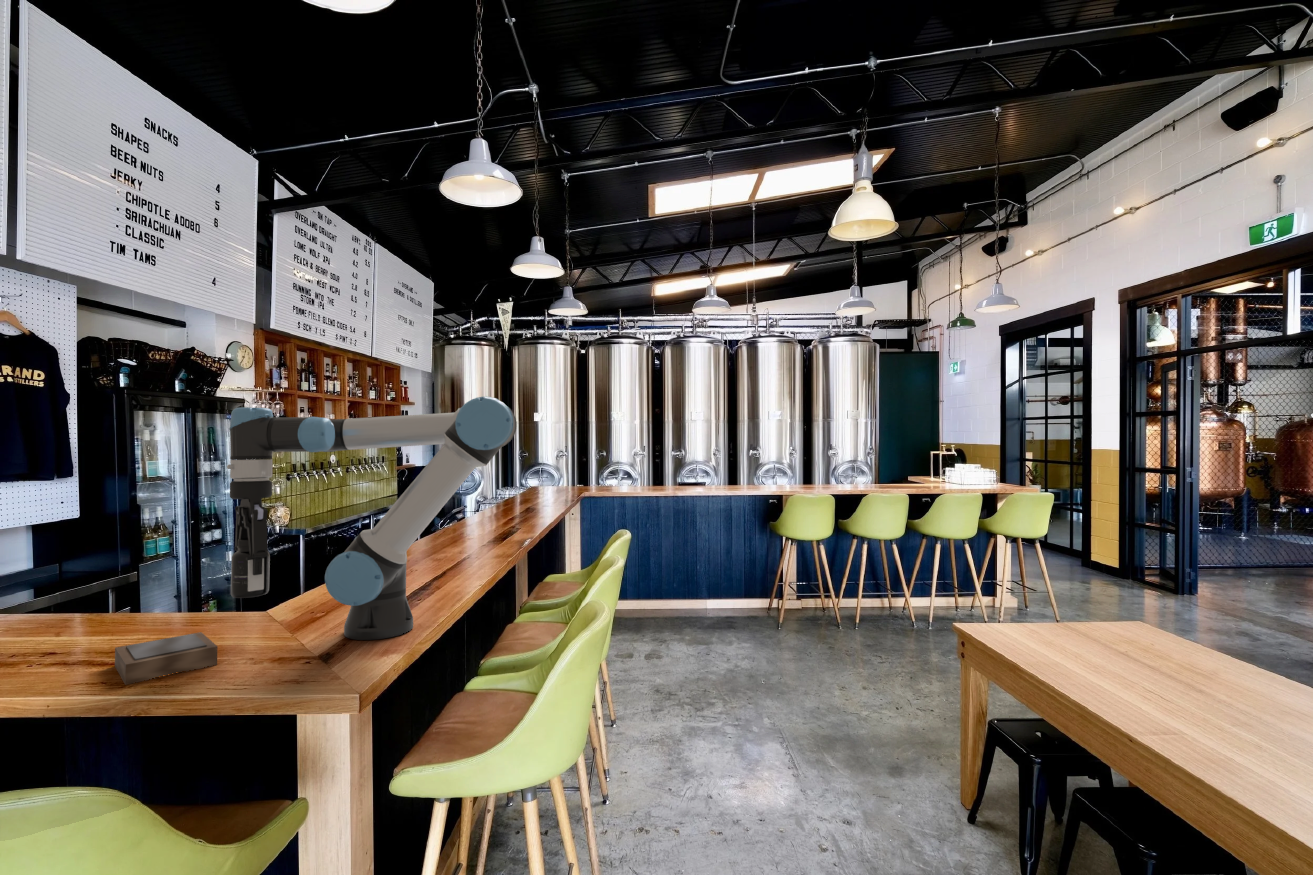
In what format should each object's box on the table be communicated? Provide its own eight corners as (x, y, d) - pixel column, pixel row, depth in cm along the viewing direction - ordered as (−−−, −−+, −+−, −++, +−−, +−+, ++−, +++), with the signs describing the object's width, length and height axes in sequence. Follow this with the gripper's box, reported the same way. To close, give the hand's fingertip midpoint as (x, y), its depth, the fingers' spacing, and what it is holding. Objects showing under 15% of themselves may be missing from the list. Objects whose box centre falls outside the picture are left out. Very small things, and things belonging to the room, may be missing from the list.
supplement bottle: (232, 600, 123) (233, 541, 123) (228, 594, 128) (229, 538, 128) (272, 594, 128) (272, 538, 128) (266, 589, 133) (267, 535, 133)
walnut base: (200, 649, 130) (201, 630, 131) (217, 664, 121) (217, 644, 121) (114, 666, 120) (115, 646, 120) (125, 684, 111) (125, 662, 111)
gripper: (218, 479, 132) (217, 583, 132) (243, 482, 119) (242, 598, 119) (257, 477, 138) (257, 577, 137) (286, 480, 125) (285, 591, 124)
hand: (250, 587), depth 128 cm, fingers closed on supplement bottle, 7 cm apart
